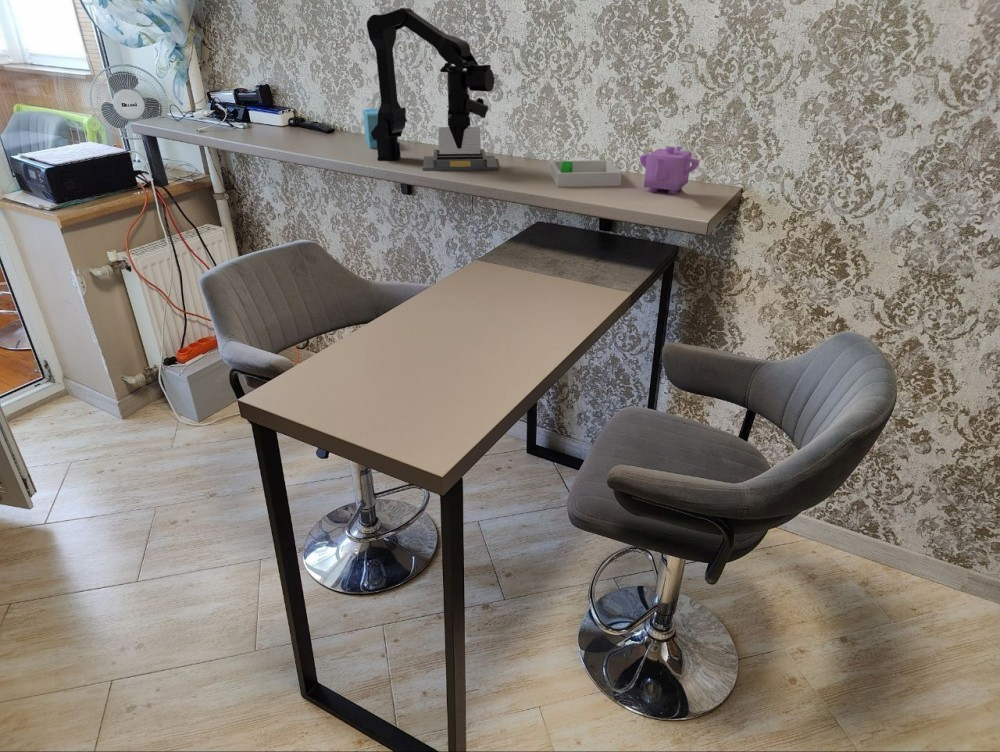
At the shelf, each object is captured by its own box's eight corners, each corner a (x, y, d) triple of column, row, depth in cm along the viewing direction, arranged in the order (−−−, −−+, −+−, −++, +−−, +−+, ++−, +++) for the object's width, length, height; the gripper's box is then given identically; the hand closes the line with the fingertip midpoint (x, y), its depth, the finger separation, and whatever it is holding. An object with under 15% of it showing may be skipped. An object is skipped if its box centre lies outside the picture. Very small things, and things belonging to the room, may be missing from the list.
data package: (384, 151, 228) (380, 113, 223) (370, 152, 227) (366, 113, 221) (379, 145, 238) (376, 108, 233) (365, 145, 237) (362, 108, 232)
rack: (422, 171, 200) (422, 160, 199) (424, 159, 216) (423, 149, 214) (497, 170, 201) (497, 159, 200) (494, 158, 217) (494, 148, 215)
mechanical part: (551, 187, 193) (552, 158, 189) (571, 189, 191) (573, 159, 187) (538, 197, 183) (539, 166, 179) (560, 199, 181) (561, 168, 177)
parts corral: (557, 187, 183) (558, 173, 181) (549, 173, 198) (549, 160, 196) (620, 186, 184) (621, 172, 182) (607, 172, 199) (608, 160, 197)
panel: (439, 154, 200) (438, 128, 197) (439, 152, 203) (438, 127, 199) (480, 153, 201) (480, 128, 197) (480, 151, 203) (479, 126, 200)
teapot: (630, 184, 185) (634, 142, 180) (676, 182, 188) (681, 140, 183) (653, 198, 172) (658, 153, 167) (702, 195, 175) (709, 151, 170)
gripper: (488, 93, 186) (488, 153, 193) (484, 86, 202) (485, 141, 210) (446, 93, 185) (448, 153, 193) (447, 86, 202) (448, 142, 209)
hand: (459, 147), depth 201 cm, fingers closed on panel, 3 cm apart
